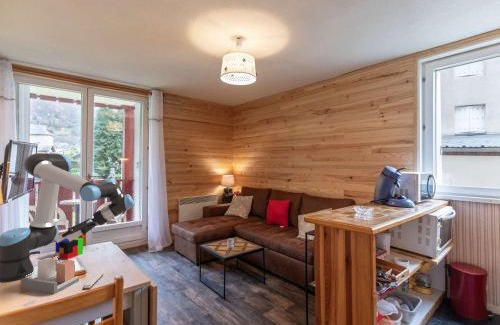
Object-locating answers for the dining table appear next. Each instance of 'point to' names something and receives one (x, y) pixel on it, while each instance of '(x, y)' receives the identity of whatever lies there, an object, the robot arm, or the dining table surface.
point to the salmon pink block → (65, 271)
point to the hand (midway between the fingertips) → (62, 239)
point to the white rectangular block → (46, 268)
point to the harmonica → (92, 281)
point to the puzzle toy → (69, 248)
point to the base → (46, 285)
